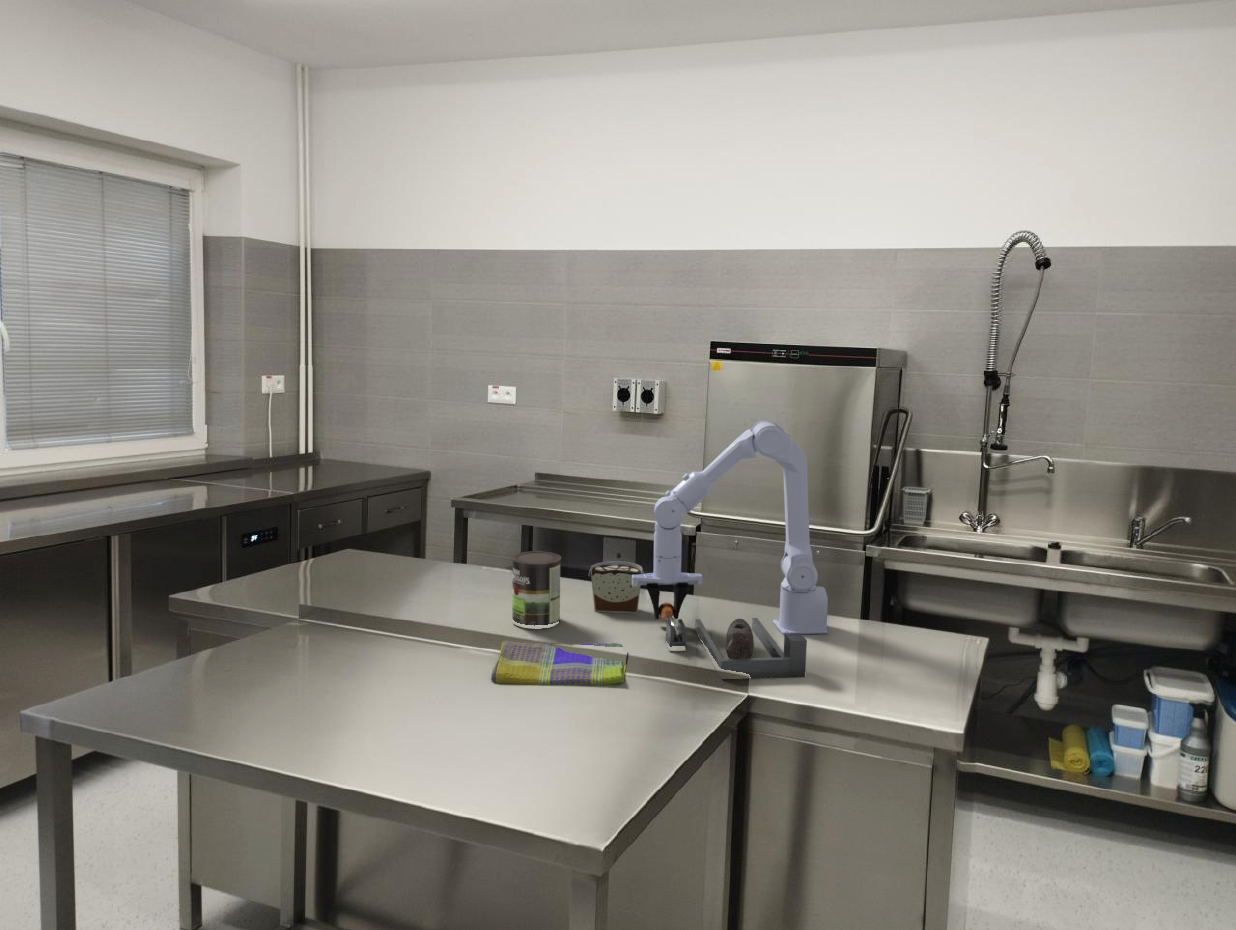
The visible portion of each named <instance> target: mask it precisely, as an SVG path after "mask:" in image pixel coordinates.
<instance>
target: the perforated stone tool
mask: <svg viewBox="0 0 1236 930" xmlns="http://www.w3.org/2000/svg"><path fill="white" fill-rule="evenodd" d="M725 643H726V644H725V645H726V649H725V651H726V655H727V659H746V658H753V655H754V646H755V641H754V632H753V630H752V626H750V625H749V623H748V622H747V621H746V620H745V619H742V618H737V619H734V620H733V621H732V622H731V623H730V625H729V626H728V628H727V631H726V634H725Z"/></svg>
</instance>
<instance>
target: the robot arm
mask: <svg viewBox="0 0 1236 930" xmlns="http://www.w3.org/2000/svg"><path fill="white" fill-rule="evenodd" d="M756 452H757V453H759V454H760V455H761V456H763V457H766V458H768V459H771V460H774V461H775V462H776V463H777V464H778V465H780V467H782V470H783V471H782V472H783V473H782V474H783V476H782V477H783V495H784V496H783V497H784V500H783V501H784V521H785V523H784V524H785V528H784V529H785V542H784V555H783V557H782V559H781V560H780V561H781V562H780V569H781V573H782V574H783V575H784V578H783V579H782V582H781V583H780V595H779V619H773V620H772V621H773V623H774V625H775V626H776V627H777V629H778V630H779V632H781V634H782V635H784V634H785V633H801V634H802V635H810V634H811V635H813V634H815V635H817V634H828V629H827V625H828V624H827V623H828V609H829V607H828V606H829V604H828V603H829V602H828V601H829V600H828V594H827V590H826V589H825V587H823V586H817V582H818V579H819V574H818V570H817V568H816V567H815V564H814V561H813V552H812V548H811V544H810V541H811V540H810V538H811V537H810V518H809V517H810V513H809V512H810V511H809V486H808V459H807V457H806V455H805V453H804V452H803V451H802V449H801V448H800V447H799V446H798V444H797V442H796V441H795V440H794V439H793V438H792V436H791V434H789V432H787V431H786V430H785V429H784V428H783V427H781V426H779V425H778V424H777V423H776V422H773V421H771V420H768V419H767V420H766V419H764V420H760V421H759V420H758V422H756V423H754V424H753V425H752V427H751V429H750V428H748V429H747V430H746V431H743V432H742V434H740V435H739V436H738V437H736V439H735V440H734V441H732V442H731V443H730V444H729V446H727V447H726V448H725V449H724V450H723V451H722V452H721V453H720V454H719V455H718V456H717V457H716V458H715V459H714V460H713V461H712V462H710V464H708V466H706V467H705V468H704V469H703V471H691V473H685V474H684V475H682V479H683V480H682V481H681V482H679V483H678V484H677V485H676V486H675V487H674V488H672V489H671V490H667V491H665V496H663V497H660V498H659V499H658V500H657V501H656V503H655V505H654V508H653V513H654V518H655V524H654V532H653V572H649V573H644V574H639V575H632V585H633V586H638V585H641V586H645V588H646V590H647V592H648V594H649V597H650V601H651V605H652V608H653V609H652V610H653V615H654V616H653V618H654V619H655V620H660V615H659V606H660V594H661V591H660V589H659V588H660V585H661V586H662V585H664V586H666V585H670V586H671V585H673V607H674V610H675V611H674V615H673V616H672V618H674V619H673V620H678V619H679V616H680V615H679V614H680V612H681V611H680V610H681V609H682V608H681V607H682V605H683V603H684V600H685V599H686V597H687V595H688V593H689V591H690V587H689V585H697V586H702V585H703V575H702V574H701V573H692V572H691V573H689V572H682V541H683V540H682V539H683V536H682V532H681V529H682V528H681V527H682V526H681V525H682V523H683V520H684V518H685V517H684V515H685V514H687V513H690V512H691V511H692V510H693V509H694V508H696V507H697V506H698V505H700V503H701V502H702V501H704V500H705V499H706V498H707V497H708V496H709V495H711V493H712V489H713V488H712V487H713V484H714V483H715V482H716V481H717V480H718V479H720V478H721V477H722V476H724V474H726V473H727V472H728V471H730V470H731V469H732V468H733V467H735V466H736V465H737V464H738V463H740V461H742V460H745V459H746V460H747V459H755V458H758V456H757V453H756Z"/></svg>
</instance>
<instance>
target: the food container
mask: <svg viewBox="0 0 1236 930" xmlns="http://www.w3.org/2000/svg"><path fill="white" fill-rule="evenodd" d="M639 574H645V572H644V570H643V567H642V565H639V564H638V563H634V562H629V561H621V560H620V561H617V560H616V561H615V560H613V561H612V560H611V561H603V562H597V563H595V564H593V565H591V566H590V569H589V571H588V575H587V576H588V577H591V587H592V588H591V589H592V599H593V607H594V612H598V613H599V612H600V613H620V614H638V612H639V611H638V610H639V601H640V594H641V586H642V585H638V586H633V585H632V575H639Z"/></svg>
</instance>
